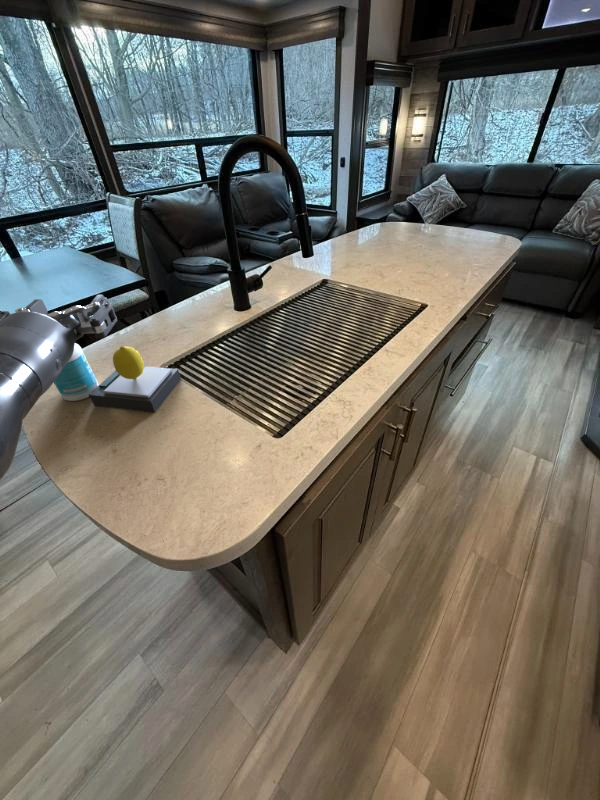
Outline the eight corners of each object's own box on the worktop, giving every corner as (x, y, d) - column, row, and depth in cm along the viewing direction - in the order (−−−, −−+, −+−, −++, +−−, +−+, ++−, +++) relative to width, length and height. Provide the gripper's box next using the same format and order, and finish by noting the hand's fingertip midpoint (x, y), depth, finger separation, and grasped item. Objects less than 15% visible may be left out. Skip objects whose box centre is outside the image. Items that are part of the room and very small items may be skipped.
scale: (94, 406, 70) (87, 392, 68) (126, 374, 79) (121, 361, 77) (155, 412, 68) (149, 399, 66) (181, 379, 77) (177, 366, 75)
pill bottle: (106, 389, 75) (81, 335, 67) (74, 406, 70) (43, 350, 62) (88, 379, 78) (61, 326, 70) (56, 395, 73) (23, 340, 65)
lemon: (153, 374, 73) (142, 342, 68) (136, 388, 69) (123, 355, 64) (133, 370, 74) (121, 338, 69) (115, 383, 70) (100, 351, 65)
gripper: (75, 321, 36) (114, 274, 48) (-74, 333, 34) (6, 281, 46) (102, 378, 40) (131, 322, 53) (-28, 392, 39) (34, 330, 51)
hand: (72, 303), depth 50 cm, fingers open, 8 cm apart
